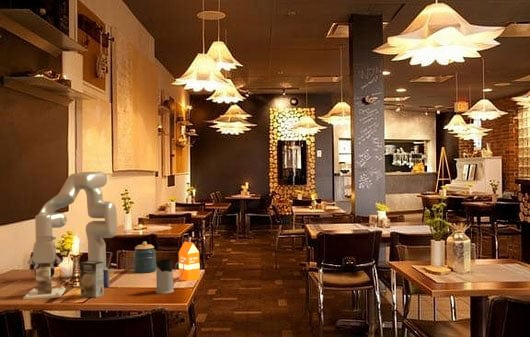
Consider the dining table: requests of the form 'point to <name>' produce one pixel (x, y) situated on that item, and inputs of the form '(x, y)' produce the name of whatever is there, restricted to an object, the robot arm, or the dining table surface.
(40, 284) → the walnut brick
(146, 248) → the canister
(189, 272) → the orange juice
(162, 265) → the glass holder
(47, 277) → the ash brick
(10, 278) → the dining table surface
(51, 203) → the robot arm
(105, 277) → the flask
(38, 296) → the baseplate
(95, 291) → the coffee box
